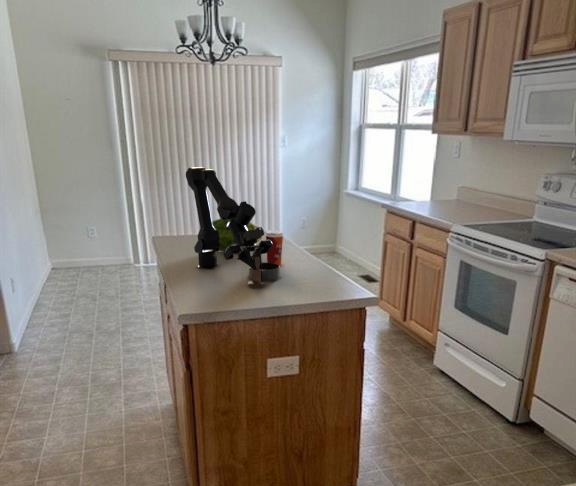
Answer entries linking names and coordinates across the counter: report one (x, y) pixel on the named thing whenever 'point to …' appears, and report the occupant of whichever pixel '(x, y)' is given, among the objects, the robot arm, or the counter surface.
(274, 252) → the paper cup
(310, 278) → the counter surface
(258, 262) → the brown stepped tower
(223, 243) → the lettuce
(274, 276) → the tub
